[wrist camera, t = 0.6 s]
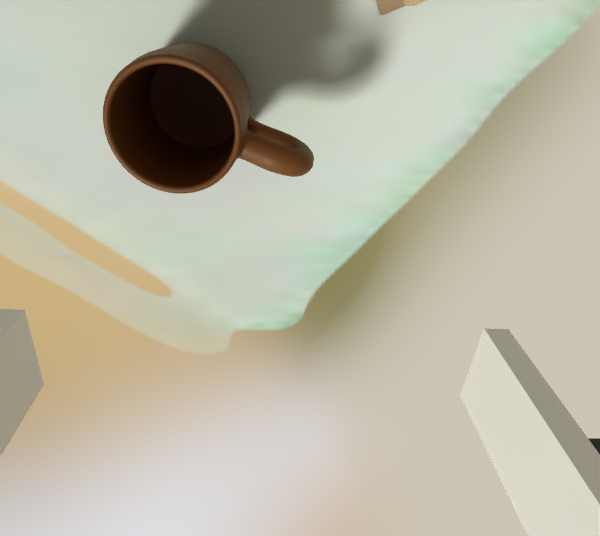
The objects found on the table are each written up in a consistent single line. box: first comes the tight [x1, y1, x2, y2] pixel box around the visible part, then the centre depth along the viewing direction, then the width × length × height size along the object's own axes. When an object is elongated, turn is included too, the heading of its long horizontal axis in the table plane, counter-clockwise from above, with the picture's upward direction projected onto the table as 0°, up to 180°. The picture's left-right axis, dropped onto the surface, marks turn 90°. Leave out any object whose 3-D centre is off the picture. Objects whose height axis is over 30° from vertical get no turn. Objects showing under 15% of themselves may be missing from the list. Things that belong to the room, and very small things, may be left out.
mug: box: [103, 43, 314, 193], centre depth 29 cm, size 12×8×9 cm, turn 71°
